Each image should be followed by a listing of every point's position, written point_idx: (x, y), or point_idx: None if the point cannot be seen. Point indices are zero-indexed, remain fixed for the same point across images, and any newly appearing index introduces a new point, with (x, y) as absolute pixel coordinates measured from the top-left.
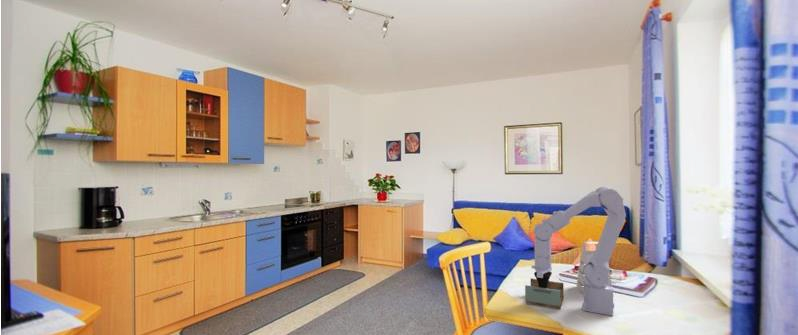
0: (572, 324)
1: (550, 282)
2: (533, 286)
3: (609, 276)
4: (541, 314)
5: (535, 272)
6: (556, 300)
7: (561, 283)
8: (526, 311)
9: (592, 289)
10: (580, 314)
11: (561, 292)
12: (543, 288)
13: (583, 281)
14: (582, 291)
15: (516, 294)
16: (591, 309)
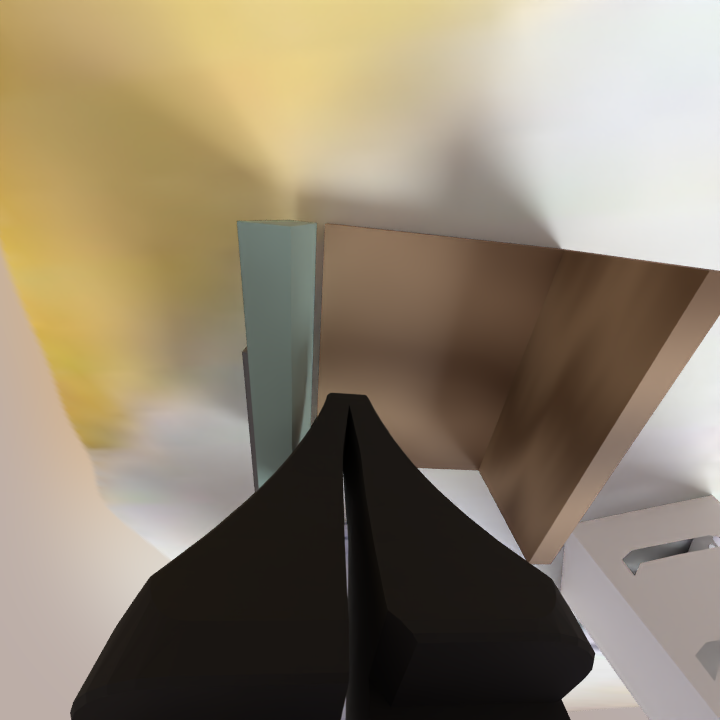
0: (139, 493)
1: (570, 483)
2: (286, 357)
3: (649, 718)
4: (164, 355)
5: (259, 694)
6: None
7: (533, 555)
8: (144, 245)
9: (344, 714)
10: None
11: (494, 483)
12: (268, 467)
13: (669, 589)
14: (613, 521)
15: (549, 86)
16: (346, 557)
